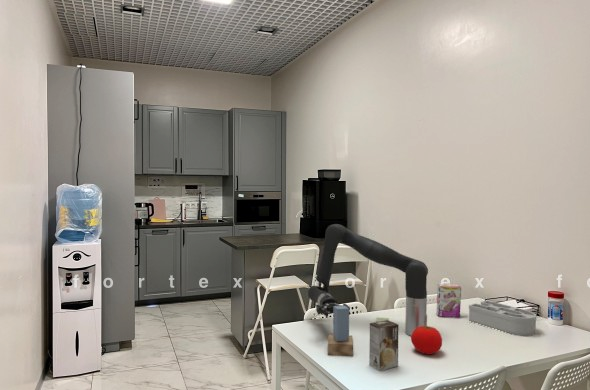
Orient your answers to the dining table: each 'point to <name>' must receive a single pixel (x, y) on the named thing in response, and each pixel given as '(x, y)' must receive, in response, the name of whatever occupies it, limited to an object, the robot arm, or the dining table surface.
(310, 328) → the dining table surface
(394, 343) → the coffee box
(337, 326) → the slate block
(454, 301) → the candy bar box
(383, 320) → the olive block
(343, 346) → the walnut block
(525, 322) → the gray compartment organizer
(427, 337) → the tomato
